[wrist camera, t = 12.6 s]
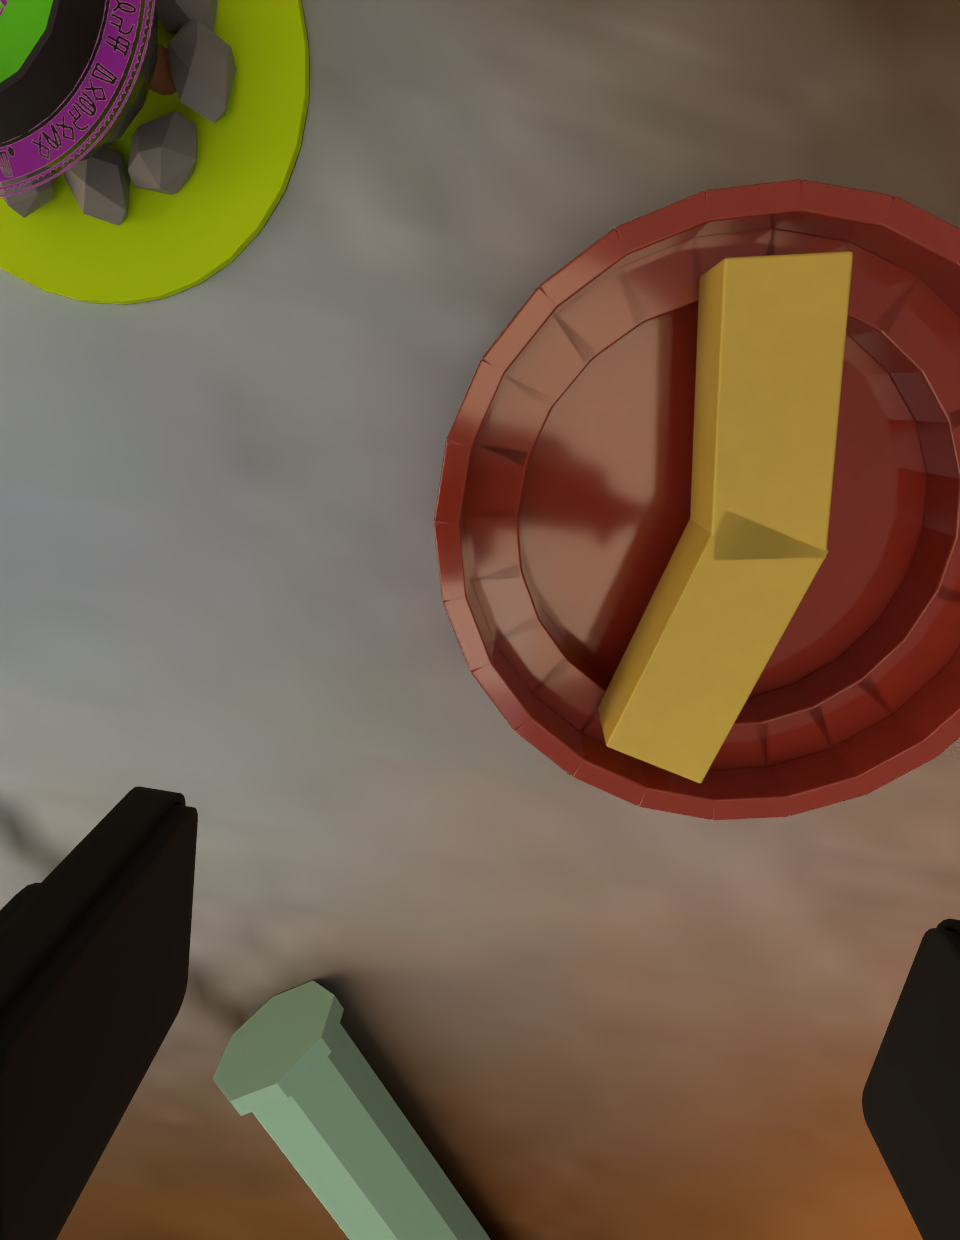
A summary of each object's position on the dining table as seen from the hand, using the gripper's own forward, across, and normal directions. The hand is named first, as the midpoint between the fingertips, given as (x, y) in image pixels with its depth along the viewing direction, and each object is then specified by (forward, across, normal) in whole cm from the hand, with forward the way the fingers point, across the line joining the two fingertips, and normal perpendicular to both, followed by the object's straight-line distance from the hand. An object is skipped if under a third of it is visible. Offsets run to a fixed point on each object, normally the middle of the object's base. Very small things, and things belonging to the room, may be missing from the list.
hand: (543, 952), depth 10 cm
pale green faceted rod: (+21, 0, +31) cm, 38 cm away
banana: (+18, -6, -4) cm, 19 cm away
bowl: (+20, -7, -4) cm, 22 cm away
